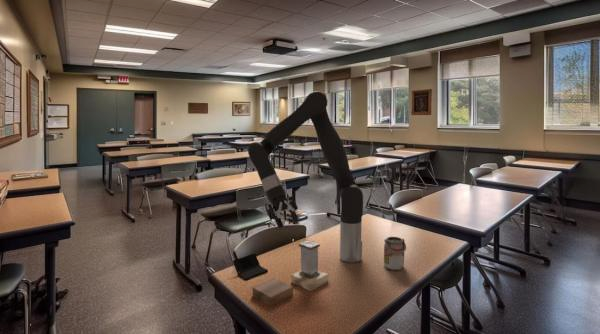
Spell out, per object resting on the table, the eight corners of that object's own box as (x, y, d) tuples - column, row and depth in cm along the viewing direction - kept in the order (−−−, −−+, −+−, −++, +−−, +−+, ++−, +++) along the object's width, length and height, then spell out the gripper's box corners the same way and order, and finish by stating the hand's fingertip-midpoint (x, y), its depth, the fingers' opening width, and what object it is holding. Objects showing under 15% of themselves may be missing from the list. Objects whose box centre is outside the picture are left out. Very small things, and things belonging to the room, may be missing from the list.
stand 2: (291, 282, 127) (291, 274, 127) (309, 273, 134) (309, 266, 134) (310, 291, 120) (310, 283, 120) (328, 281, 127) (328, 274, 127)
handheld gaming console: (249, 278, 127) (240, 253, 131) (239, 285, 131) (230, 261, 134) (270, 271, 136) (261, 249, 140) (259, 278, 140) (251, 256, 144)
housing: (299, 273, 127) (298, 243, 125) (308, 269, 131) (307, 240, 129) (311, 278, 123) (310, 247, 121) (319, 274, 126) (319, 244, 125)
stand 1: (252, 295, 117) (252, 287, 117) (274, 285, 124) (274, 277, 124) (271, 306, 110) (271, 297, 110) (293, 294, 118) (292, 286, 117)
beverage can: (408, 272, 134) (409, 243, 133) (387, 272, 134) (388, 244, 132) (400, 262, 144) (400, 235, 142) (380, 263, 143) (381, 236, 141)
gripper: (265, 188, 129) (282, 227, 127) (290, 180, 140) (306, 216, 137) (255, 194, 134) (270, 232, 132) (279, 187, 145) (294, 222, 142)
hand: (289, 224), depth 134 cm, fingers open, 8 cm apart
